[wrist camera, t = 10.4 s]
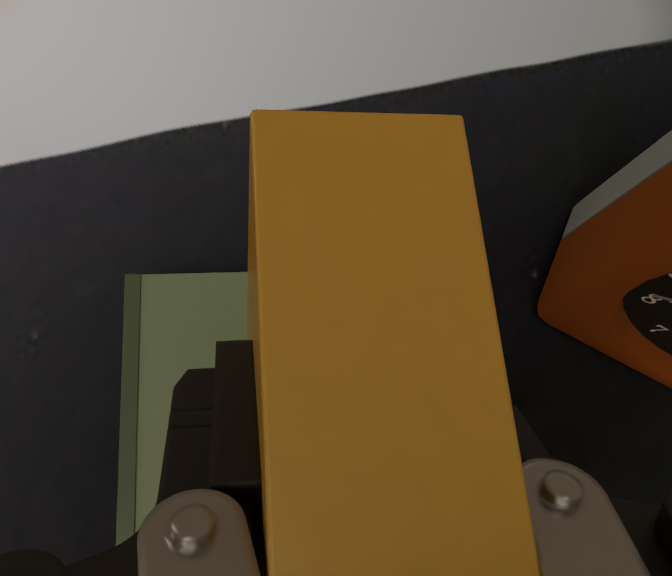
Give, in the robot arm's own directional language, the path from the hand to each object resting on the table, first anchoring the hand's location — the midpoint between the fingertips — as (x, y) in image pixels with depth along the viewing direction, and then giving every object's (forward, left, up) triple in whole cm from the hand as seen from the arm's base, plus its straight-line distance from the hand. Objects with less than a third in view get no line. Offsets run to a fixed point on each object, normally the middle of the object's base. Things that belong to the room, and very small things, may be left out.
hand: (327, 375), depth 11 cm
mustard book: (+1, -2, -8) cm, 9 cm away
